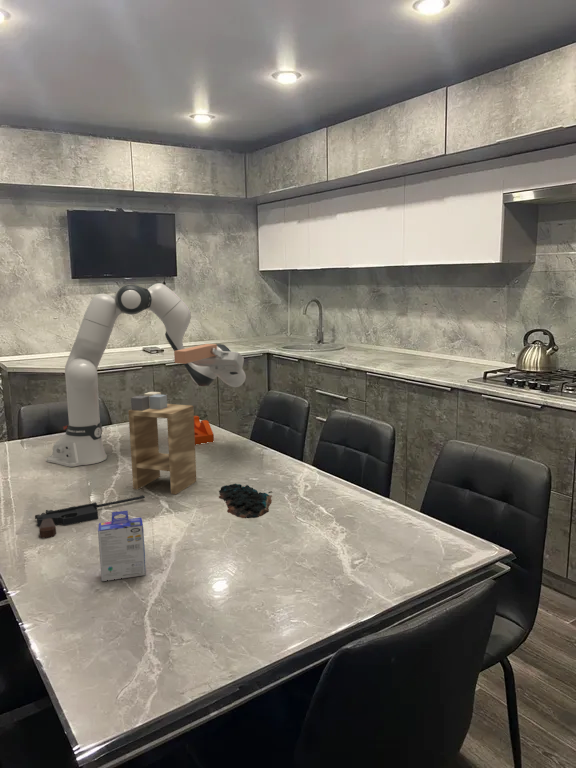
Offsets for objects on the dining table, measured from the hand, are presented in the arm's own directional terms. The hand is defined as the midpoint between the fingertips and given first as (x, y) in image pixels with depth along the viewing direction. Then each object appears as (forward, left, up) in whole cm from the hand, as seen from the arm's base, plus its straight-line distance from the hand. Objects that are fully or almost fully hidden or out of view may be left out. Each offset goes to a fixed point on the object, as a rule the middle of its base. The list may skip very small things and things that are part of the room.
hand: (205, 349), depth 208 cm
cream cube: (-10, -20, -16) cm, 27 cm away
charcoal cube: (-10, -27, -16) cm, 33 cm away
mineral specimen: (+28, -27, -43) cm, 58 cm away
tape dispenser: (-25, +30, -43) cm, 58 cm away
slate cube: (-5, -23, -16) cm, 29 cm away
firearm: (-8, -53, -43) cm, 69 cm away
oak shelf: (-4, -23, -42) cm, 48 cm away
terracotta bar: (0, -6, -2) cm, 7 cm away
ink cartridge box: (+20, -78, -43) cm, 91 cm away
